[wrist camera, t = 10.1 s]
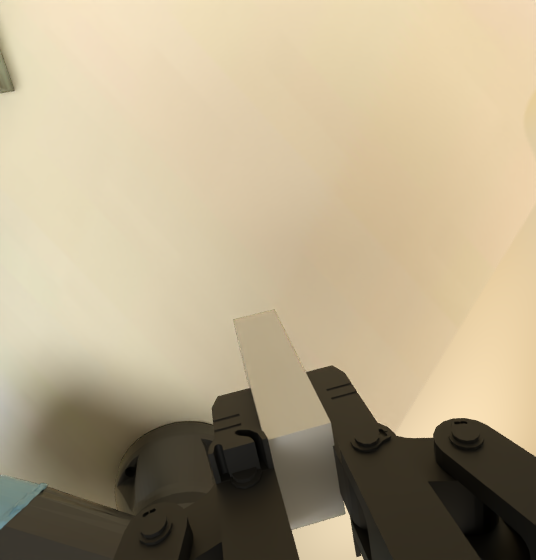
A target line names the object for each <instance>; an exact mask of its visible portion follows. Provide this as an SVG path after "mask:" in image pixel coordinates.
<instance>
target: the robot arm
mask: <svg viewBox="0 0 536 560" xmlns="http://www.w3.org/2000/svg"><path fill="white" fill-rule="evenodd" d="M233 321H234V325H235V329H236V334H237V338H238V343H239V347H240V351H241V356H242V360H243V364H244V369H245V373H246V377H247V382H248V386H249V388H248V389H245V390H241V391H237V392H233V393H229V394H225V395H222V396H218V397H217V399H216V401H215V403H214V405H213V407H212V416H213V425H209V424H205V423H199V422H179V423H173V424H169V425H165V426H162V427H159V428H157V429H155V430H152V431H151V432H149V433H147V434H145V435H144V436H142V437H141V438H140V439H138V440H137V441H136V442H135V443H134V444H133V445H132V446H131V447H130V448H129V449H128V451H127V452H126V454H125V455H124V457H123V459H122V461H121V463H120V466H119V469H118V474H117V479H116V485H115V500H116V505H117V509H118V510H116V509H112V508H109V507H106V506H103V505H100V504H97V503H94V502H91V501H88V500H85V499H82V498H79V497H76V496H73V495H70V494H67V493H64V492H61V491H59V490H56V489H53V488H50V487H48V485H47V484H45V483H41V484H36V483H32V482H28V481H24V480H21V479H17V478H13V477H9V476H6V475H0V560H299V557H298V553H297V549H296V545H295V542H294V538H293V534H292V531H291V530H293V529H297V528H300V527H304V526H307V525H310V524H313V523H317V522H320V521H324V520H327V519H330V518H334V517H337V516H340V515H344V514H345V508H344V503H345V505H346V508H347V510H348V512H349V515H350V519H351V525H352V532H353V538H354V545H355V551H356V556H357V557H359V556H361V554H362V556H363V559H364V560H536V457H535V456H534V455H532V454H530V453H529V452H527V451H526V450H524V449H523V448H521V447H520V446H518V445H517V444H515V443H514V442H512V441H511V440H509V439H507V438H506V437H504V436H503V435H501V434H500V433H498V432H497V431H495V430H494V429H492V428H490V427H489V426H487V425H485V424H483V423H481V422H479V421H476V420H471V419H466V418H457V419H450V420H447V421H444V422H442V423H441V424H440V425H438V426H437V427H436V429H435V432H434V434H433V438H404V437H399V436H396V435H395V433H394V432H392V431H391V430H390V429H389V428H388V427H386V426H384V425H381V424H379V423H377V421H376V420H375V418H374V417H373V415H372V414H371V412H370V411H369V409H368V408H367V406H366V405H365V403H364V402H363V400H362V399H361V397H360V396H359V394H358V393H357V391H356V389H355V388H354V386H353V385H352V384H351V382H350V380H349V379H348V377H347V376H346V374H345V373H344V372H343V371H341V370H339V369H337V368H336V367H334V366H328V367H324V368H321V369H317V370H313V371H309V372H305V370H304V368H303V366H302V364H301V362H300V360H299V358H298V356H297V354H296V352H295V350H294V348H293V346H292V344H291V342H290V340H289V338H288V336H287V334H286V332H285V330H284V328H283V326H282V324H281V322H280V320H279V318H278V316H277V314H276V312H275V310H271V311H266V312H262V313H258V314H254V315H250V316H246V317H242V318H238V319H233ZM343 501H344V502H343Z"/></svg>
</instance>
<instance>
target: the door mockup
mask: <svg viewBox="0 0 536 560" xmlns="http://www.w3.org/2000/svg"><path fill="white" fill-rule="evenodd" d="M10 91H14V88H13V85H12V83H11V80H10V77H9V74H8V71H7V68H6V65H5V62H4V59H3V56H2V54H1V51H0V93H4V92H10Z"/></svg>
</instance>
